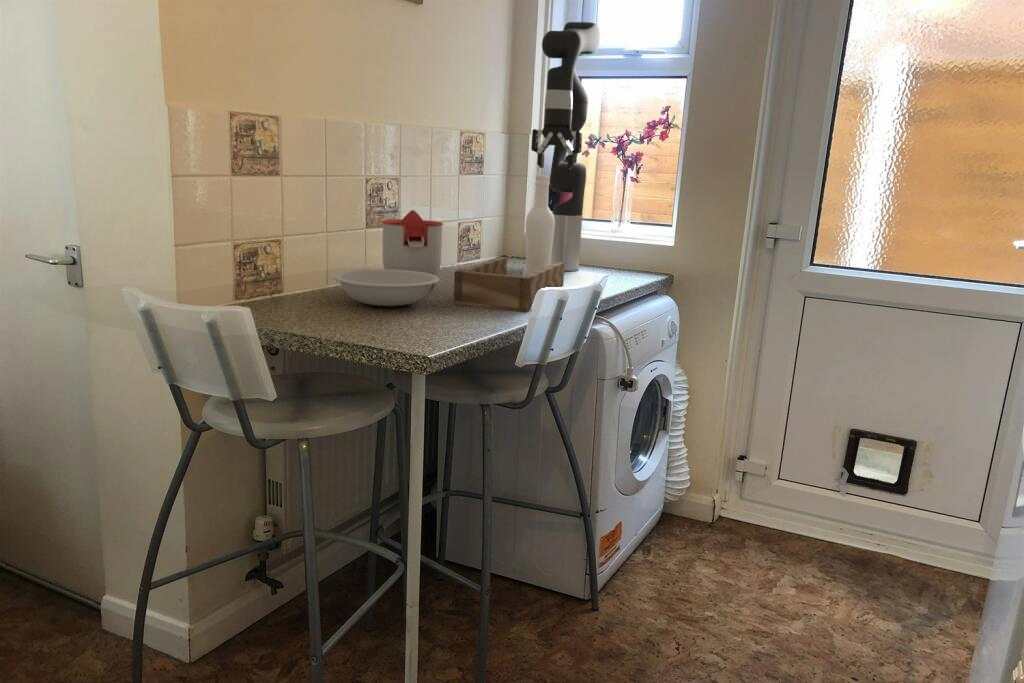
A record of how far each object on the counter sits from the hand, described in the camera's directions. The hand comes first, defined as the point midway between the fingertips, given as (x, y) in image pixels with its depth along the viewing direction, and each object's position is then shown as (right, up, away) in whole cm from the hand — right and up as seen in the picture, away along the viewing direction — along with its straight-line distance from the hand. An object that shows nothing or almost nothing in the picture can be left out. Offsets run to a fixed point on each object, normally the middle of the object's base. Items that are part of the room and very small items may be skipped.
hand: (555, 168), depth 225 cm
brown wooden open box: (-12, -38, -24) cm, 46 cm away
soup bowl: (-41, -40, -41) cm, 71 cm away
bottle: (-5, -33, -4) cm, 34 cm away
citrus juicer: (-38, -35, -17) cm, 54 cm away
